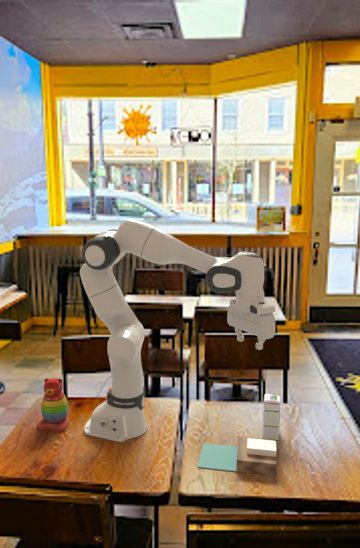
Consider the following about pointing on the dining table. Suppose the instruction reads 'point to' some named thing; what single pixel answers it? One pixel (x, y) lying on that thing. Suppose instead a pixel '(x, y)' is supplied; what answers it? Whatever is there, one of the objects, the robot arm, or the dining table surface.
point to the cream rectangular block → (261, 447)
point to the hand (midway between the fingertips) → (249, 344)
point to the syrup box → (271, 416)
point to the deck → (254, 460)
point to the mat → (218, 457)
